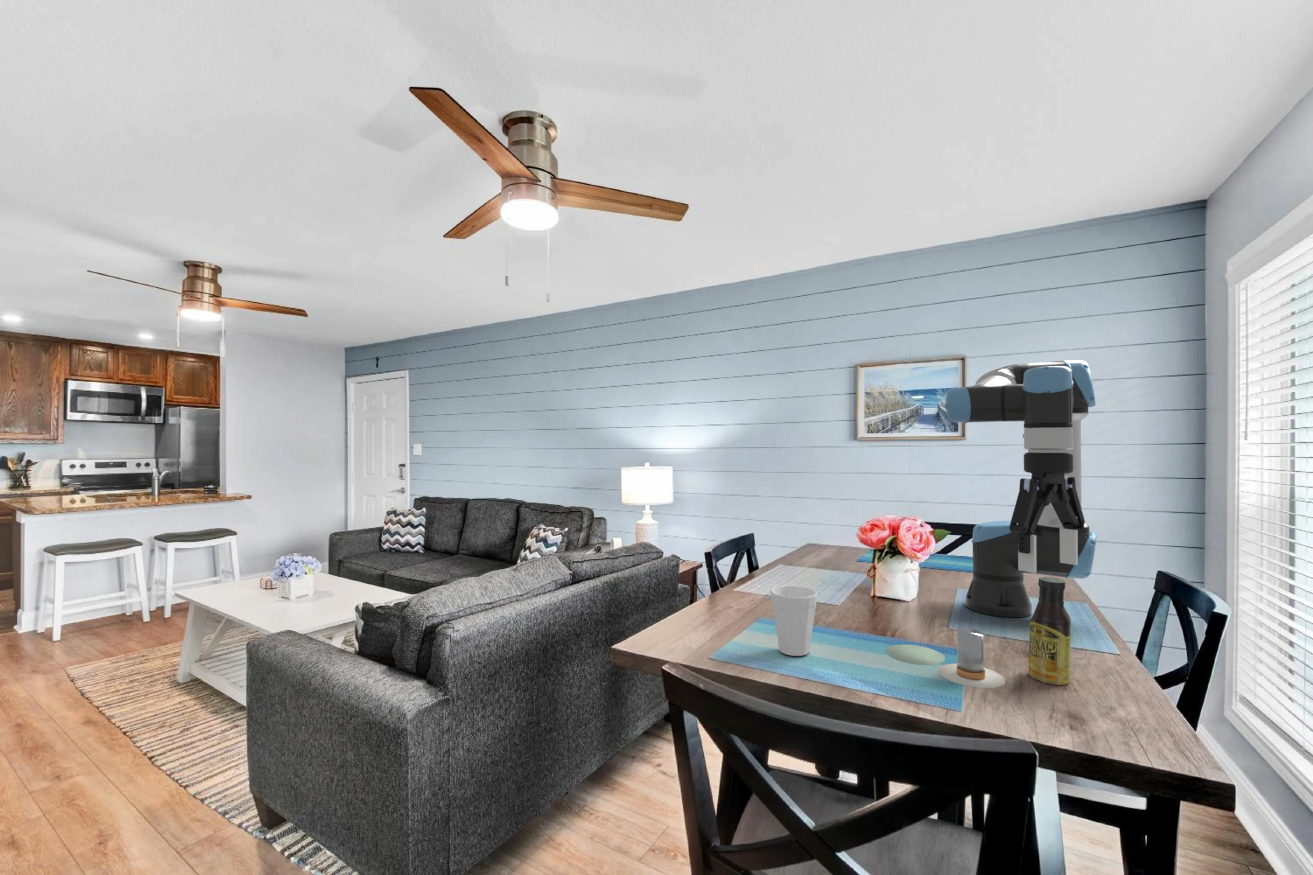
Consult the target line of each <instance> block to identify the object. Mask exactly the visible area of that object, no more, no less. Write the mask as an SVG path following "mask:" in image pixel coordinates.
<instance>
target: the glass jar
mask: <svg viewBox="0 0 1313 875" xmlns="http://www.w3.org/2000/svg"><path fill="white" fill-rule="evenodd" d="M956 638H957V639H956V641H957V642H956V643H957V644H956V646H957V647H956V649H957V650H956V652H957V654H956V656H957V662H956V664H957V675H959V676H960V677H962V678H965V679H969V680H983V679H985V670H984V668H985V634H984V632H983V631H981V630H978V629H974V628H964V627H963V628H958V629H957V630H956Z"/></svg>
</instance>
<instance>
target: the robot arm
mask: <svg viewBox="0 0 1313 875" xmlns="http://www.w3.org/2000/svg"><path fill="white" fill-rule="evenodd" d="M1095 406H1096V398H1095V390H1094V384H1093V380H1092V374H1091V369H1090V364H1088V363H1087V361H1085V360H1077V359H1075V360H1074V359H1073V360H1070V359H1069V360H1067V359H1066V360H1065V359H1063V360H1055V361H1043V362H1042V361H1041V362H1030V363H1029V362H1027V363H1017V364H1016V363H1014V364H1011V365H1006V366H1002V367H998V368H995V369H993V370H990V371H987V372H986V373H984V374H983V375H982V376H980V377H978V379H977V381H976V382H975V384H973V385H972V386H960V387H952V388H950V389H948V390H947V392H946V398H945V412H946V417H947V419H948V420H949V421H950V422H951V423H963V424H968V423H992V422H1023V434H1022V438H1023V449H1024V450H1027V452H1024V454H1023V471H1024V472H1025V473H1030V474H1031V477H1030V478H1024V477H1023V478H1020V480H1019V490H1018V491H1019V492H1018V494H1017V498H1016V501H1015V505H1014V509H1013V511H1012V515H1011V519H1010V520H995V521H985V522H980V523H977V524H976V525H975V526H974V527H973V529H972V540H971V543H972V578H971V582H970V585H969V587H968V590H967V593H966V595H965V606H966V607H967V608H968V609H969V610H972V611H974V612H977V613H981V614H984V615H989V616H994V617H1003V618H1026V617H1029V616H1031V615H1033V610H1032V609H1033V604H1032V602H1031V599H1030V597H1029V594H1028V591H1027V588H1026V586H1025V582H1024V573H1025V574H1032V575H1043V576H1048V577H1050V576H1051V577H1059V578H1065V579H1077V580H1078V579H1079V580H1081V579H1087V578H1089V577H1090V575H1091V574H1092V569H1093V564H1094V558H1095V551H1096V543H1097V537H1098V536H1097V533H1096V532H1093V531H1090V524H1089V523H1088V522H1087V521H1085V520H1086V519H1085V517H1084V513H1083V509H1082V420H1084V419H1085V418H1086V417H1087V416H1088V415H1089V408H1093V407H1095Z"/></svg>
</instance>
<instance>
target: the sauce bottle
mask: <svg viewBox="0 0 1313 875" xmlns="http://www.w3.org/2000/svg"><path fill="white" fill-rule="evenodd" d="M1037 583H1038V588H1039V593H1038V594H1039V596H1038V602H1037V604H1036V607H1035V610H1034V612H1033V613H1032V617H1031V619H1030V622H1029V642H1028V644H1029V645H1028V646H1029V647H1028V676H1029V677H1030V678H1031V679H1032V680H1034V681H1036V682H1039V683H1042V684H1045V685H1048V686H1049V685H1050V686H1067V685H1068V684H1069V683H1070V673H1071V672H1070V671H1071V646H1072V645H1071V644H1072V643H1071V642H1072V641H1071V638H1072V633H1071V623H1072V622H1071V617H1070V615H1069V614H1068V612H1067V610H1066V608H1065V602H1064V597H1065V596H1064V594H1065V593H1064V592H1065V590H1066V581H1065V580H1064V579H1061V578H1057V577H1054V576H1051V577H1050V576H1039V578H1038V582H1037Z"/></svg>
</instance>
